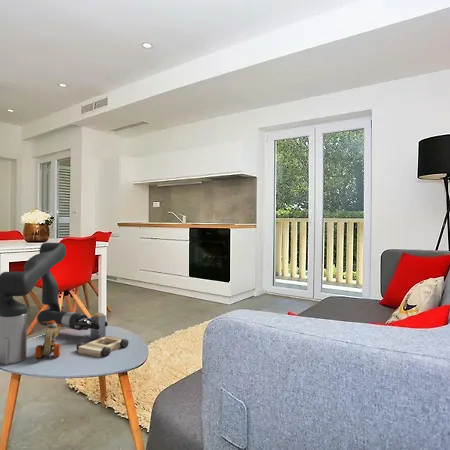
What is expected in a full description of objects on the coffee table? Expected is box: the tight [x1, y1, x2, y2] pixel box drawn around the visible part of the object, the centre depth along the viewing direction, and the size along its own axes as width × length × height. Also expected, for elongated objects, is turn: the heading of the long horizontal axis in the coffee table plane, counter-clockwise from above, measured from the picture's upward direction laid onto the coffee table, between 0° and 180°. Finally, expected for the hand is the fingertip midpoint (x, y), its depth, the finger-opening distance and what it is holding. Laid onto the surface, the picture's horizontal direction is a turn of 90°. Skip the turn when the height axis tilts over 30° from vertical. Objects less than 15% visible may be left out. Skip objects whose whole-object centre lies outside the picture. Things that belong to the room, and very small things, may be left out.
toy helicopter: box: [35, 320, 62, 359], centre depth 143 cm, size 8×21×14 cm, turn 17°
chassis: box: [76, 335, 130, 358], centre depth 147 cm, size 16×15×3 cm
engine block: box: [90, 312, 107, 341], centre depth 159 cm, size 4×4×11 cm
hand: (103, 325), depth 158 cm, fingers closed on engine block, 4 cm apart
